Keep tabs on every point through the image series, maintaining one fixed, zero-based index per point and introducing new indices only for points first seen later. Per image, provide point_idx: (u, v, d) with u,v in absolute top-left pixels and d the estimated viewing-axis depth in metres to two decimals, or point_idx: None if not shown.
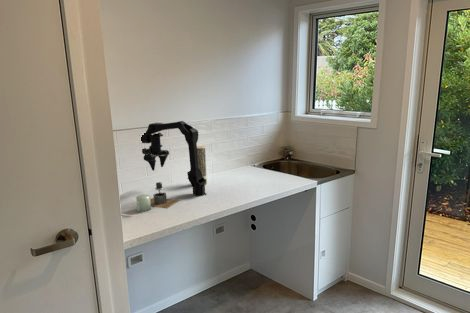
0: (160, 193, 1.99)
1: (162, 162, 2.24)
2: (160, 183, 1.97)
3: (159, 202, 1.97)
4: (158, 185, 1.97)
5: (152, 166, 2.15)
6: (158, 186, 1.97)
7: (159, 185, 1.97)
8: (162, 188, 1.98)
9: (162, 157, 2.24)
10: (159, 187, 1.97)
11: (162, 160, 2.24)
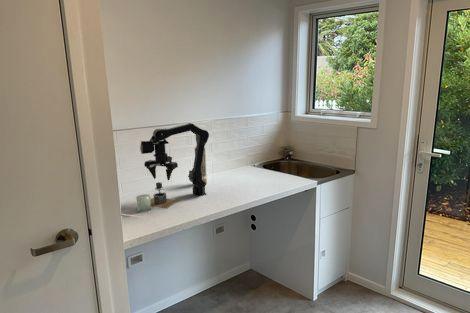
0: (160, 193, 1.99)
1: None
2: (160, 183, 1.97)
3: (159, 202, 1.97)
4: (158, 185, 1.97)
5: None
6: (158, 186, 1.97)
7: (159, 185, 1.97)
8: (162, 188, 1.98)
9: None
10: (159, 187, 1.97)
11: None
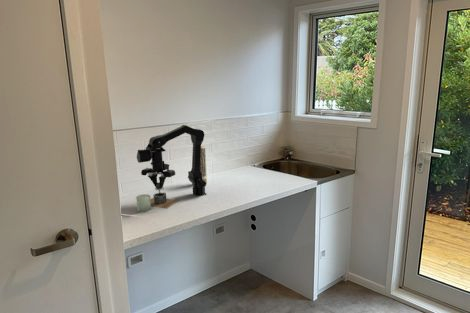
0: (160, 193, 1.99)
1: None
2: None
3: (159, 202, 1.97)
4: (158, 185, 1.97)
5: None
6: (158, 186, 1.97)
7: (159, 185, 1.97)
8: (162, 188, 1.98)
9: None
10: (159, 187, 1.97)
11: None
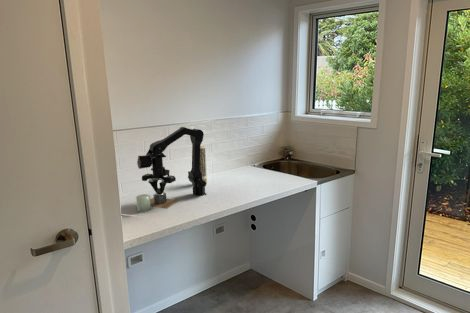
0: None
1: None
2: None
3: (159, 202, 1.97)
4: (158, 191, 1.97)
5: None
6: (158, 192, 1.98)
7: (159, 191, 1.98)
8: (162, 194, 1.98)
9: None
10: (159, 193, 1.98)
11: None
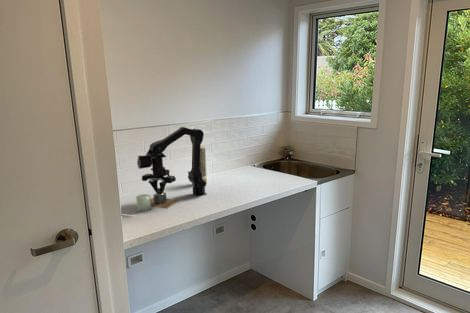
0: None
1: None
2: None
3: (159, 202, 1.97)
4: (158, 191, 1.97)
5: None
6: (158, 192, 1.98)
7: (159, 191, 1.98)
8: (162, 194, 1.98)
9: None
10: (159, 193, 1.98)
11: None
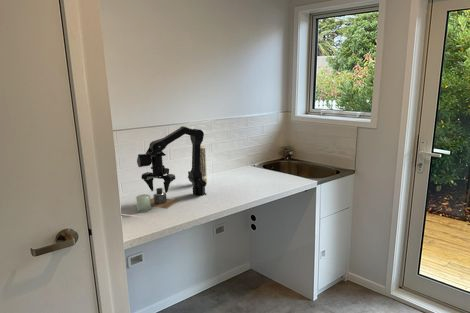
0: None
1: None
2: (160, 189, 1.98)
3: (159, 202, 1.97)
4: (158, 191, 1.97)
5: None
6: (158, 192, 1.98)
7: (159, 191, 1.98)
8: (162, 194, 1.98)
9: None
10: (159, 193, 1.98)
11: None
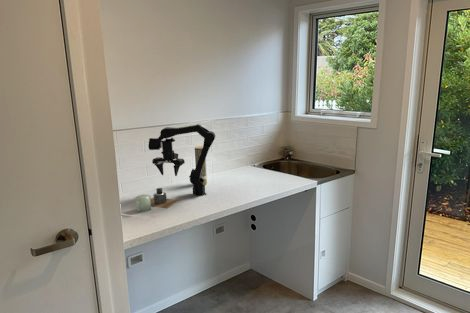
0: None
1: None
2: (160, 189, 1.98)
3: (159, 202, 1.97)
4: (158, 191, 1.97)
5: None
6: (158, 192, 1.98)
7: (159, 191, 1.98)
8: (162, 194, 1.98)
9: None
10: (159, 193, 1.98)
11: None
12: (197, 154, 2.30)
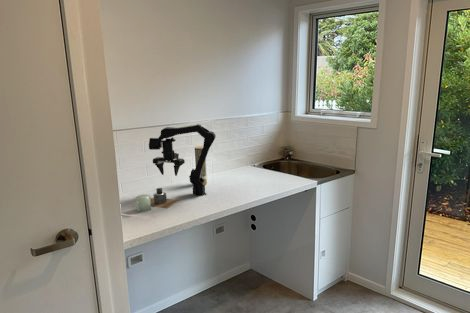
0: None
1: None
2: (160, 189, 1.98)
3: (159, 202, 1.97)
4: (158, 191, 1.97)
5: None
6: (158, 192, 1.98)
7: (159, 191, 1.98)
8: (162, 194, 1.98)
9: None
10: (159, 193, 1.98)
11: None
12: (197, 154, 2.30)
